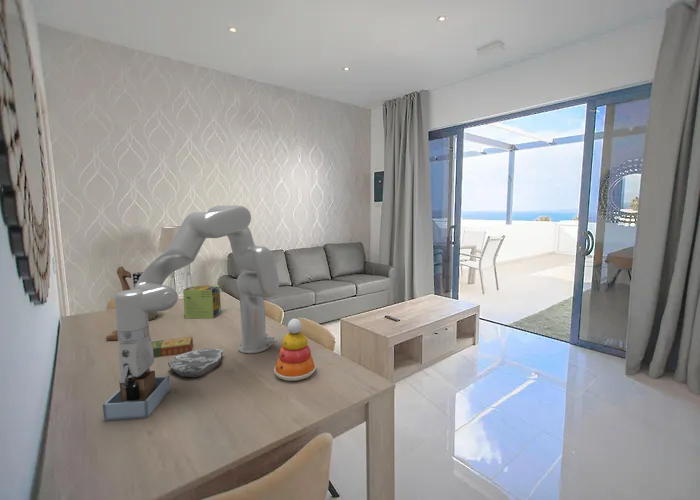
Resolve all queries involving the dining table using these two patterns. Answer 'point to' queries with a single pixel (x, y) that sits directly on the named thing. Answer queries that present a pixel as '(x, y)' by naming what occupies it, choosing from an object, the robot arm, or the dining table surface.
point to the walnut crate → (141, 386)
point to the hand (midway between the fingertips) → (139, 392)
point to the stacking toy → (294, 355)
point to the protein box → (202, 302)
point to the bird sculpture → (122, 275)
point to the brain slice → (196, 362)
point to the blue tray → (136, 403)
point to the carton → (172, 346)
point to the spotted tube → (136, 277)
